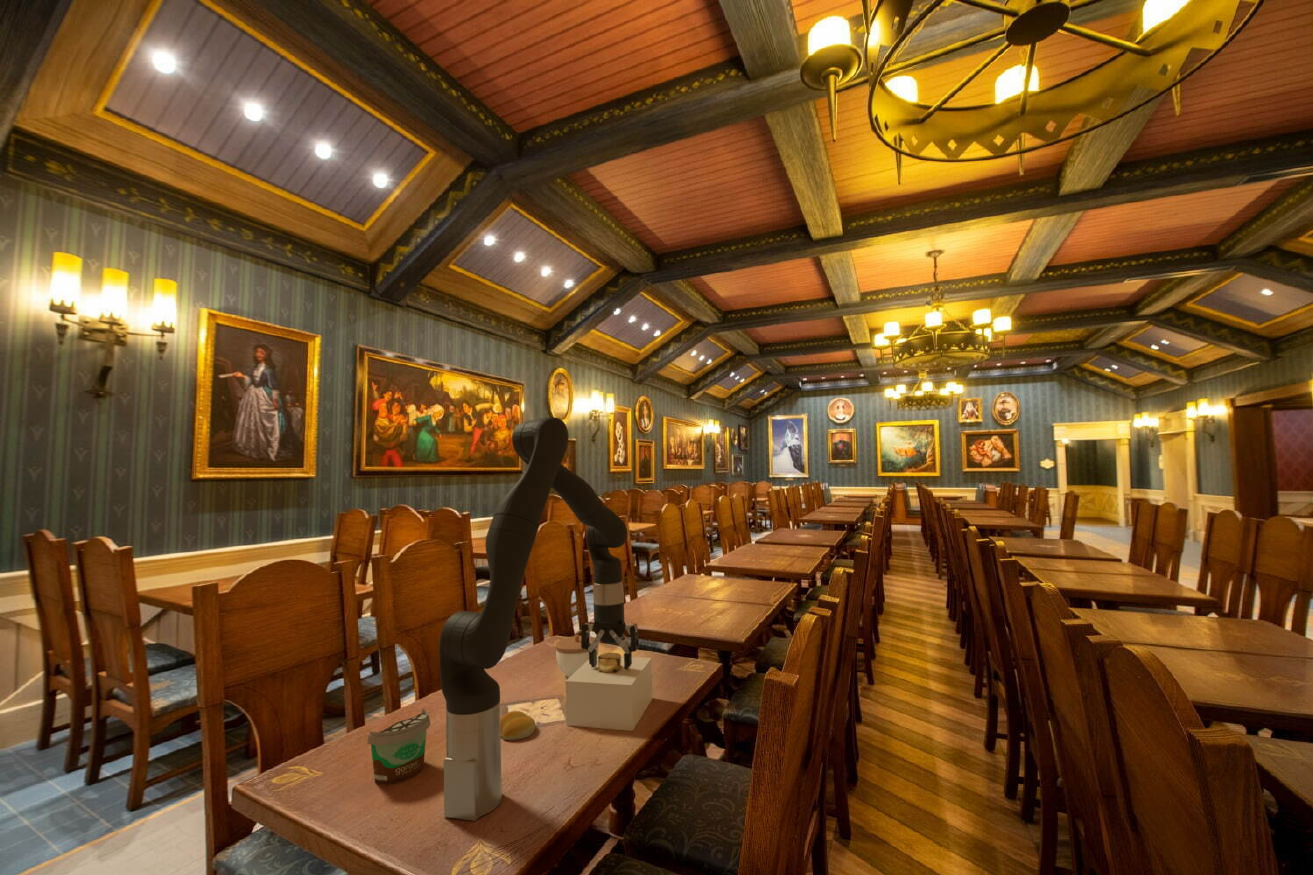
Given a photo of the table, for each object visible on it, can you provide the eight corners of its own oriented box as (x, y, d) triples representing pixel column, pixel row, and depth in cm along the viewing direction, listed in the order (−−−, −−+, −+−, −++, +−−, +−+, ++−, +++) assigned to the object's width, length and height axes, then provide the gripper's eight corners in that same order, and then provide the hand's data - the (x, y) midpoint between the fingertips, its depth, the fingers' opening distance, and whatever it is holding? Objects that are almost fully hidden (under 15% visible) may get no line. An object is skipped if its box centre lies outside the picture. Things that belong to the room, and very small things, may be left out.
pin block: (632, 730, 121) (631, 685, 122) (566, 725, 125) (565, 680, 126) (652, 697, 138) (651, 658, 139) (594, 693, 142) (593, 655, 143)
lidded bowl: (596, 681, 151) (595, 641, 152) (551, 682, 151) (551, 642, 152) (601, 665, 164) (600, 628, 164) (560, 666, 164) (559, 629, 164)
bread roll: (508, 745, 117) (508, 726, 117) (491, 732, 123) (490, 714, 124) (542, 732, 122) (542, 714, 122) (524, 720, 129) (523, 703, 129)
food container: (386, 795, 99) (385, 739, 100) (367, 786, 103) (367, 732, 103) (443, 763, 110) (443, 713, 111) (425, 756, 113) (424, 707, 114)
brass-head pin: (618, 712, 128) (616, 660, 129) (596, 710, 130) (594, 659, 131) (625, 702, 134) (623, 653, 135) (604, 701, 135) (602, 652, 136)
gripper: (575, 603, 132) (577, 671, 131) (631, 604, 128) (634, 674, 127) (587, 596, 139) (589, 660, 138) (640, 597, 135) (642, 663, 134)
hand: (610, 667), depth 132 cm, fingers open, 8 cm apart
